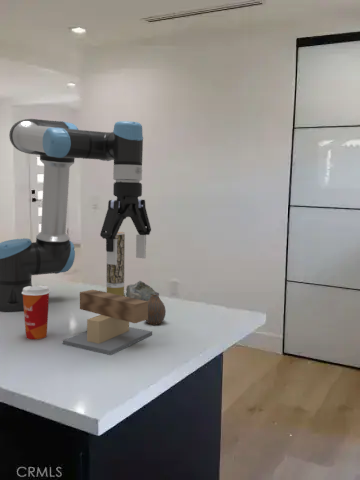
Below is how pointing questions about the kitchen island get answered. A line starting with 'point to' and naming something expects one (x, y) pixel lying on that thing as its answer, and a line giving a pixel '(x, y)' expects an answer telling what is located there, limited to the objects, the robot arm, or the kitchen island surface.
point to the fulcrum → (107, 335)
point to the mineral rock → (140, 291)
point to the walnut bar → (114, 306)
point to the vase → (155, 310)
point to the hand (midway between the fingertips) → (126, 261)
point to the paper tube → (117, 268)
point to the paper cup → (36, 311)
